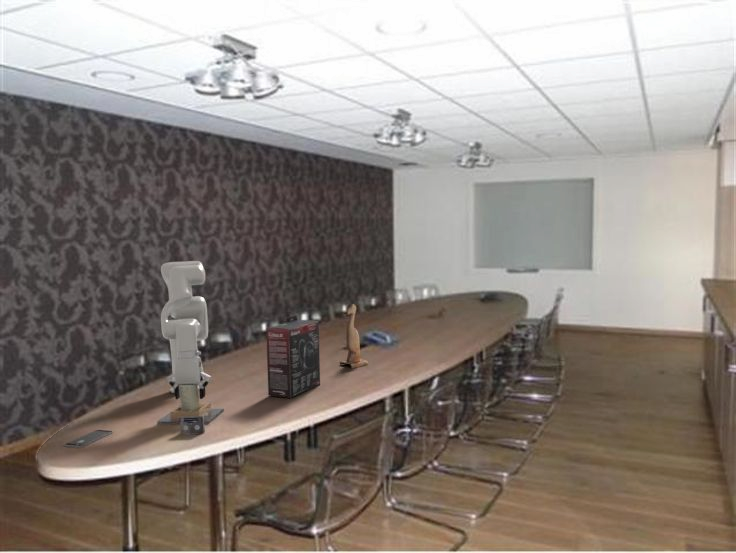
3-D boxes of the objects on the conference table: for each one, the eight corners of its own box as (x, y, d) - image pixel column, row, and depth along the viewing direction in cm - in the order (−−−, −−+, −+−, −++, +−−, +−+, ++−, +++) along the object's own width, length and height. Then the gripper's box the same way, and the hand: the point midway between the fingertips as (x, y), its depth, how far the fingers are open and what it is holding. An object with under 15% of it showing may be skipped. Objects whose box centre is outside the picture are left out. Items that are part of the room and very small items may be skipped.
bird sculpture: (338, 366, 315) (334, 305, 312) (355, 361, 323) (351, 301, 320) (352, 369, 307) (348, 306, 303) (369, 364, 315) (366, 303, 311)
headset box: (298, 382, 282) (295, 312, 280) (322, 384, 277) (319, 312, 274) (267, 396, 260) (263, 320, 258) (292, 399, 255) (288, 321, 252)
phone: (97, 432, 223) (62, 447, 208) (97, 429, 223) (62, 444, 207) (114, 433, 220) (80, 449, 205) (114, 430, 220) (80, 446, 205)
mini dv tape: (204, 432, 217) (203, 415, 216) (203, 433, 215) (202, 417, 215) (181, 432, 217) (180, 416, 216) (180, 434, 215) (179, 417, 215)
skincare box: (200, 414, 235) (198, 383, 234) (191, 417, 231) (189, 385, 230) (189, 412, 238) (187, 381, 238) (180, 415, 235) (178, 384, 234)
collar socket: (175, 411, 244) (174, 401, 244) (223, 411, 241) (223, 401, 241) (157, 424, 228) (156, 413, 228) (208, 423, 226) (208, 413, 225)
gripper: (212, 351, 236) (215, 395, 237) (170, 352, 238) (172, 395, 239) (205, 356, 228) (208, 400, 230) (161, 356, 230) (164, 401, 232)
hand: (190, 398), depth 234 cm, fingers open, 9 cm apart
